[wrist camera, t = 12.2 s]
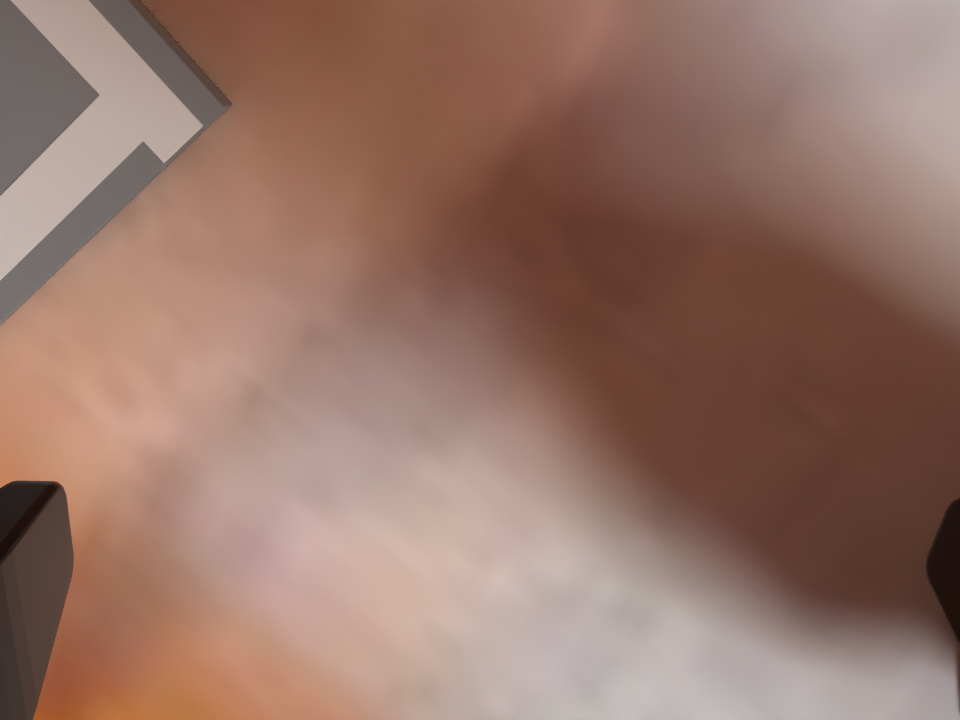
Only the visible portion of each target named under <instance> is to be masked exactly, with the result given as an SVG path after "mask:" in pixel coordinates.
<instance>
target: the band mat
mask: <svg viewBox="0 0 960 720" xmlns="http://www.w3.org/2000/svg"><path fill="white" fill-rule="evenodd" d="M231 105H232V103H231V102H230V101H229V100H228V99H227V98H226V97H225V96H224V95H223V93H222V92H221V91H220V90H219V89H218V88H217V87H216V86H215V84H214V83H213V82H212V81H211V80H210V79H209V78H208V77H207V76H206V74H205V73H204V72H203V71H202V70H201V69H200V68H199V67H198V66H197V64H196V63H195V62H194V61H193V60H192V59H191V58H190V57H189V55H188V54H187V53H186V52H185V51H184V50H183V49H182V48H181V47H180V45H179V44H178V43H177V42H176V41H175V40H174V39H173V38H172V36H171V35H170V34H169V33H168V32H167V31H166V30H165V29H164V28H163V26H162V25H161V24H160V23H159V22H158V21H157V20H156V19H155V17H154V16H153V15H152V14H151V13H150V12H149V11H148V10H147V9H146V7H145V6H144V5H143V4H142V3H141V2H140V1H139V0H0V325H1V324H2V323H3V322H4V321H5V320H7V319H8V318H9V317H10V316H11V315H12V314H13V313H14V312H15V311H16V310H17V309H18V308H19V307H20V306H21V305H22V304H23V303H24V302H25V301H26V300H27V299H29V298H30V297H31V296H32V295H33V294H34V293H35V292H36V291H37V290H38V289H39V288H40V287H41V286H42V285H43V284H44V283H45V282H46V281H47V280H48V279H49V278H51V277H52V276H53V275H54V274H55V273H56V272H57V271H58V270H59V269H60V268H61V267H62V266H63V265H64V264H65V263H66V262H67V261H68V260H69V259H70V258H71V257H72V256H74V255H75V254H76V253H77V252H78V251H79V250H80V249H81V248H82V247H83V246H84V245H85V244H86V243H87V242H88V241H89V240H90V239H91V238H92V237H93V236H94V235H96V234H97V233H98V232H99V231H100V230H101V229H102V228H103V227H104V226H105V225H106V224H107V223H108V222H109V221H110V220H111V219H112V218H113V217H114V216H115V215H116V214H118V213H119V212H120V211H121V210H122V209H123V208H124V207H125V206H126V205H127V204H128V203H129V202H130V201H131V200H132V199H133V198H134V197H135V196H136V195H137V194H138V193H140V192H141V191H142V190H143V189H144V188H145V187H146V186H147V185H148V184H149V183H150V182H151V181H152V180H153V179H154V178H155V177H156V176H157V175H158V174H159V173H160V172H161V171H163V170H164V169H165V168H166V167H167V166H168V165H169V164H170V163H171V162H172V161H173V160H174V159H175V158H176V157H177V156H178V155H179V154H180V153H181V152H182V151H183V150H185V149H186V148H187V147H188V146H189V145H190V144H191V143H192V142H193V141H194V140H195V139H196V138H197V137H198V136H199V135H200V134H201V133H202V132H203V131H204V130H205V129H207V128H208V127H209V126H210V125H211V124H212V123H213V122H214V121H215V120H216V119H217V118H218V117H219V116H220V115H221V114H222V113H223V112H224V111H225V110H226V109H227V108H229V107H230V106H231Z"/></svg>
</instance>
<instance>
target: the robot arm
mask: <svg viewBox="0 0 960 720" xmlns="http://www.w3.org/2000/svg"><path fill="white" fill-rule="evenodd" d="M73 563H74V554H73V545H72V537H71V529H70V521H69V513H68V505H67V498H66V493H65V491H64V488H63V486H62V485H61V484H59V483H58V482H55V481H13V482H11V483H9V484H6V485H5V486H3V487H1V488H0V720H33V717H34V714H35V711H36V707H37V704H38V700H39V696H40V693H41V689H42V685H43V682H44V678H45V674H46V671H47V667H48V663H49V660H50V656H51V652H52V649H53V645H54V641H55V638H56V634H57V630H58V626H59V623H60V619H61V615H62V612H63V608H64V604H65V601H66V597H67V593H68V590H69V586H70V582H71V578H72V572H73ZM926 574H927V579H928V581H929V584H930V586H931V588H932V590H933V592H934V594H935V596H936V599H937V601H938V603H939V605H940V607H941V609H942V611H943V613H944V615H945V617H946V620H947V622H948V624H949V626H950V628H951V630H952V632H953V634H954V636H955V638H956V641H957V643H958V645H959V647H960V498H959V499H956V500H954V501H953V502H952V503H951V504H950V505H949V506H948V508H947V510H946V512H945V515H944V517H943V519H942V522H941V524H940V526H939V529H938V531H937V534H936V536H935V538H934V541H933V543H932V546H931V548H930V550H929V553H928V555H927V559H926Z"/></svg>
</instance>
